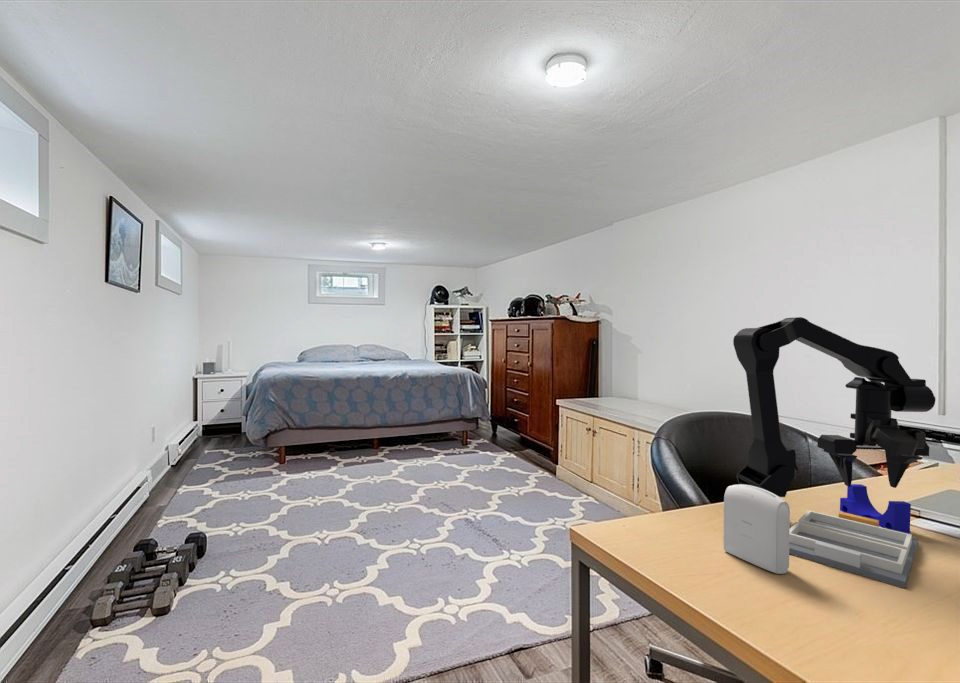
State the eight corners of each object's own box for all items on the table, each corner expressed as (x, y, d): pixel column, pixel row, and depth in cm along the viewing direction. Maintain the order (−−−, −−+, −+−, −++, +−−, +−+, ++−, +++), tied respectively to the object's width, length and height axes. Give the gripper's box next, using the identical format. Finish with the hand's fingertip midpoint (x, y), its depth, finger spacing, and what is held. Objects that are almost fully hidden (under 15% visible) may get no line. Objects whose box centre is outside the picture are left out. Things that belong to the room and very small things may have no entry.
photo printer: (718, 550, 84) (720, 480, 84) (734, 545, 86) (736, 477, 85) (776, 577, 74) (779, 499, 74) (793, 572, 76) (795, 495, 76)
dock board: (905, 588, 72) (905, 568, 72) (776, 550, 84) (777, 533, 84) (917, 545, 87) (918, 529, 87) (807, 518, 99) (807, 503, 99)
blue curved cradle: (839, 511, 104) (840, 484, 104) (860, 511, 104) (861, 484, 104) (886, 534, 92) (887, 503, 92) (909, 534, 92) (910, 504, 92)
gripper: (857, 417, 90) (854, 498, 90) (957, 419, 90) (954, 501, 90) (816, 407, 101) (814, 480, 101) (906, 409, 101) (903, 483, 101)
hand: (870, 486), depth 98 cm, fingers open, 9 cm apart
